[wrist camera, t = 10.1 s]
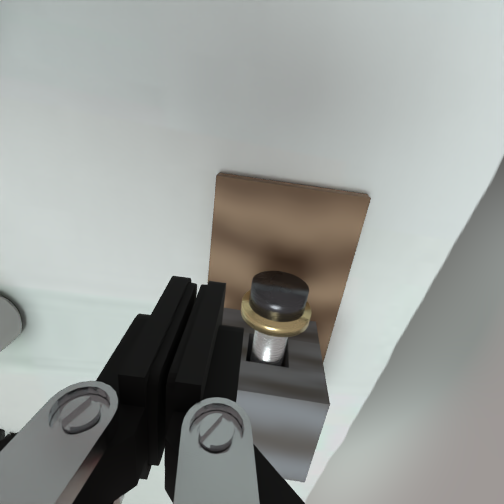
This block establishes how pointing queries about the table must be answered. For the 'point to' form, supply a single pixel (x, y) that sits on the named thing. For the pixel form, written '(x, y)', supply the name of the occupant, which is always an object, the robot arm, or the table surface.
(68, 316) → the table surface
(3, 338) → the can
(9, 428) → the table surface
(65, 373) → the table surface
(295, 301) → the shaft
